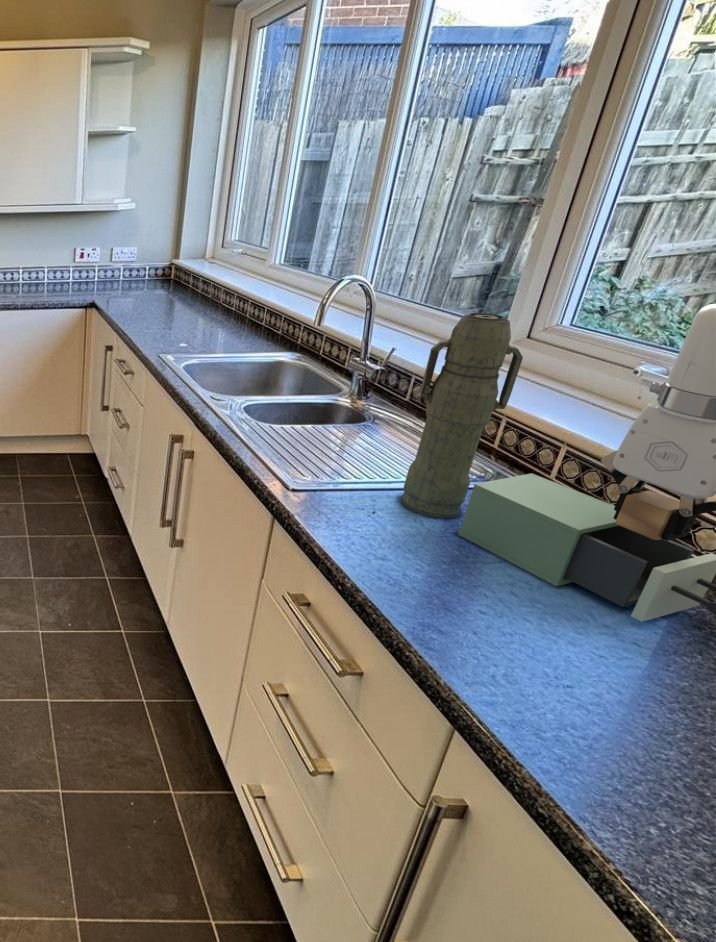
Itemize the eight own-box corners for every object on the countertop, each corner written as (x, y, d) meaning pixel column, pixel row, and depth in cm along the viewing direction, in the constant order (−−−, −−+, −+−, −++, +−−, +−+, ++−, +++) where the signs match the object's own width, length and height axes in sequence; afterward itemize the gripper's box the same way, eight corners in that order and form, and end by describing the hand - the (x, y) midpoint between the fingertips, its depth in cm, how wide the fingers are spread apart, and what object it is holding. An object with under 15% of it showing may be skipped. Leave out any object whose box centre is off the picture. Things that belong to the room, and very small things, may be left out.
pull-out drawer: (749, 629, 80) (777, 579, 77) (690, 647, 77) (717, 596, 74) (584, 552, 96) (602, 508, 93) (530, 564, 94) (547, 520, 91)
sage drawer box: (616, 571, 93) (641, 516, 90) (556, 586, 90) (579, 530, 86) (513, 522, 106) (531, 473, 103) (457, 534, 103) (474, 483, 100)
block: (678, 535, 83) (692, 505, 81) (655, 540, 82) (669, 511, 80) (636, 518, 87) (649, 490, 85) (614, 523, 86) (626, 494, 84)
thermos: (385, 489, 118) (434, 308, 105) (460, 500, 114) (520, 312, 101) (396, 511, 110) (450, 319, 97) (476, 524, 106) (543, 324, 93)
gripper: (602, 385, 84) (556, 502, 91) (782, 431, 69) (711, 568, 76) (640, 380, 86) (593, 495, 93) (823, 424, 71) (751, 557, 78)
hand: (647, 526), depth 84 cm, fingers closed on block, 4 cm apart
